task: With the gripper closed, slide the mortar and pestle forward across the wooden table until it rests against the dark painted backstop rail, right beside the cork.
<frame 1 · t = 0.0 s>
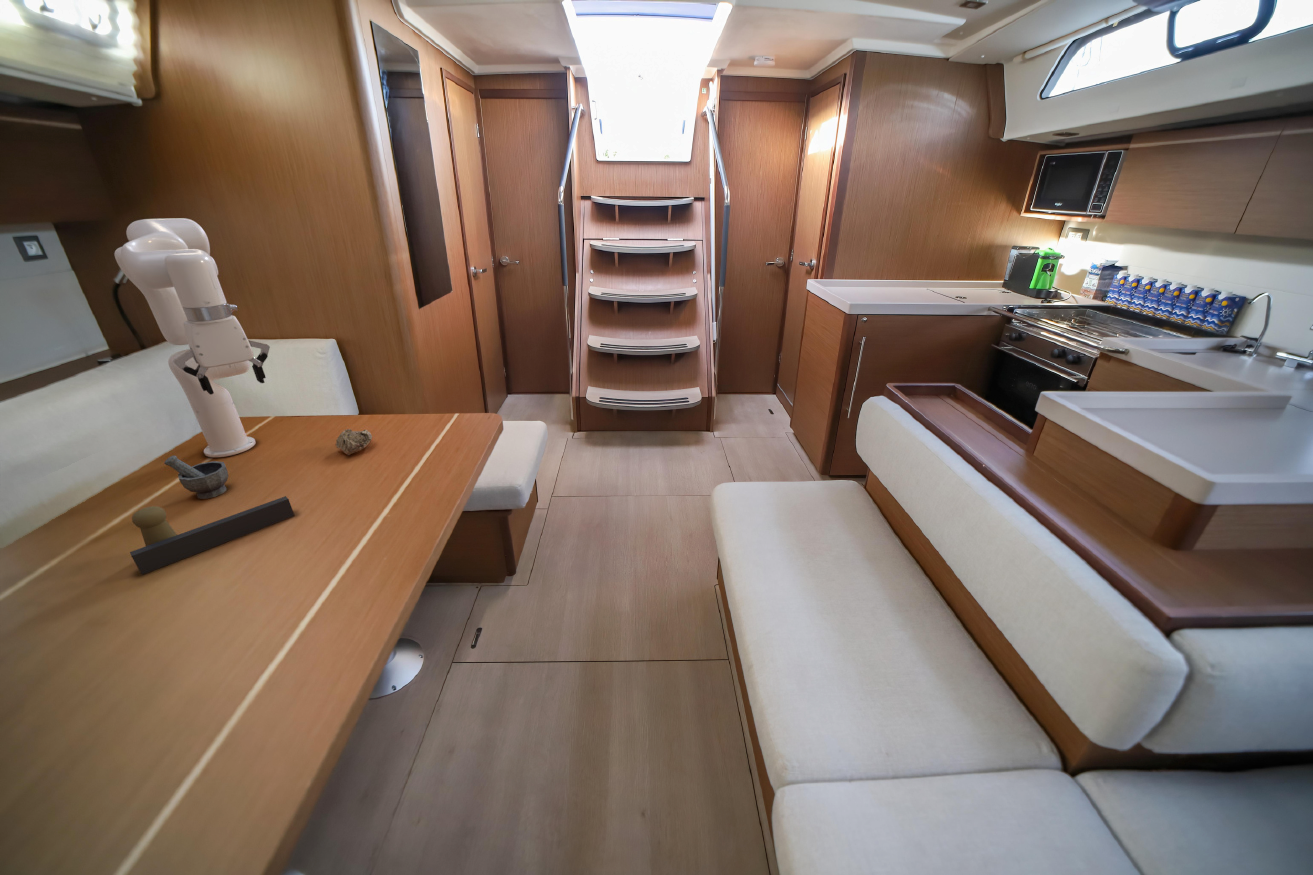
hand: (236, 387, 116), 31 cm above the table, tool pointing down, fingers open, 9 cm apart
backstop rail: (223, 541, 115), on the table
rough grey rock: (356, 449, 156), on the table
mortar and pestle: (209, 493, 133), on the table
cork: (167, 552, 111), on the table
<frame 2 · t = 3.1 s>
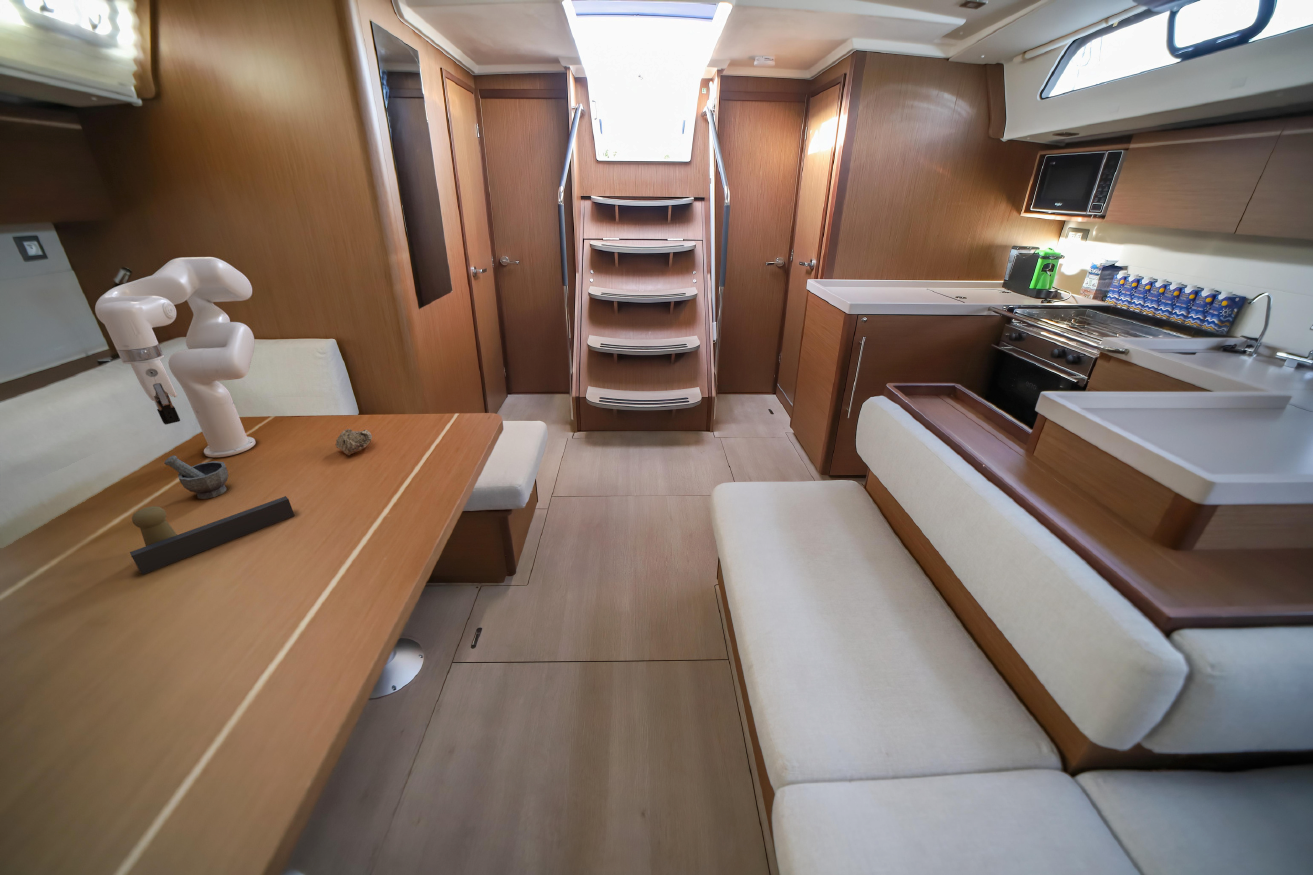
hand: (172, 422, 130), 18 cm above the table, tool pointing down, fingers closed
nothing on the table moved.
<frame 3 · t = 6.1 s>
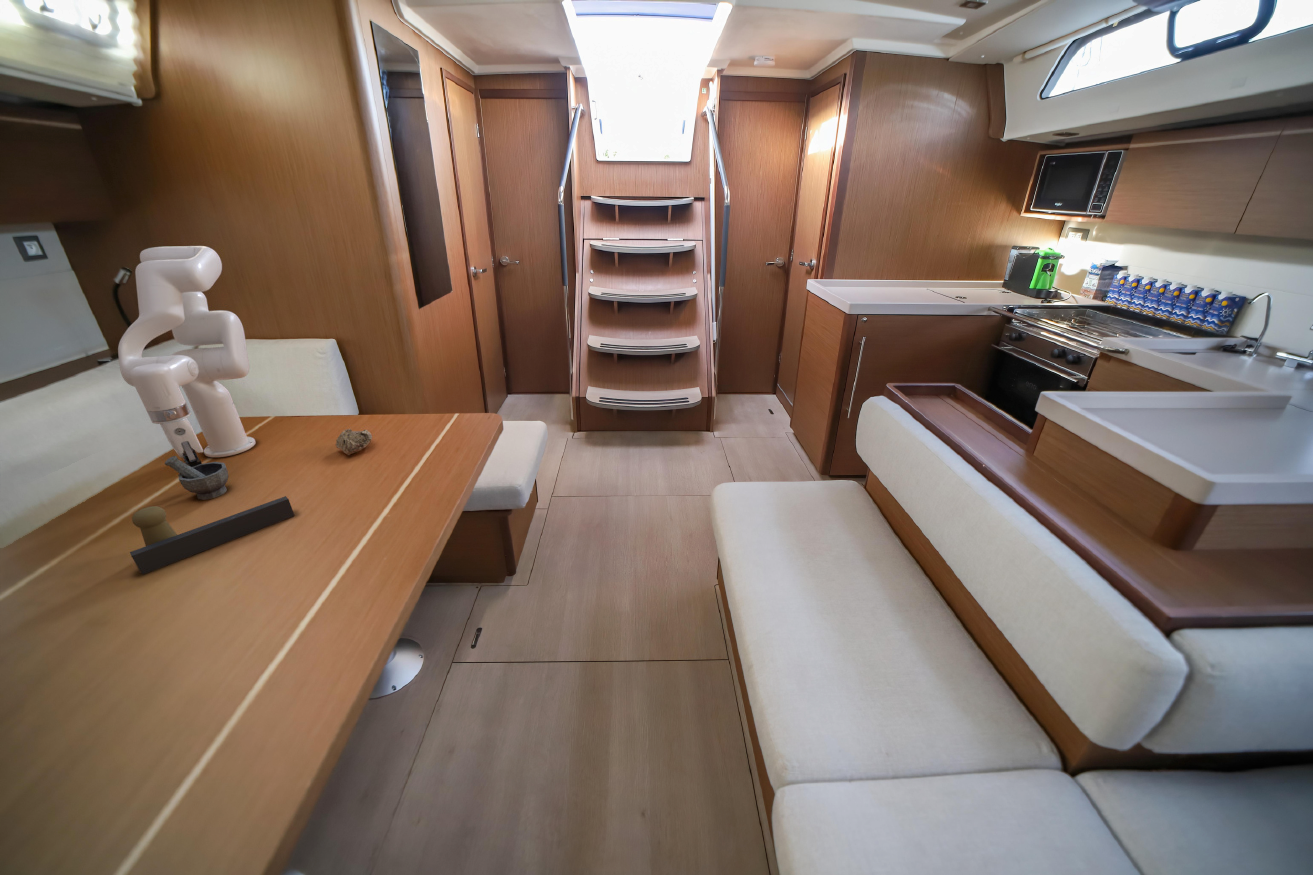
hand: (198, 474, 135), 3 cm above the table, tool pointing down, fingers closed
mortar and pestle: (209, 494, 132), on the table, touching gripper
everything else where it was.
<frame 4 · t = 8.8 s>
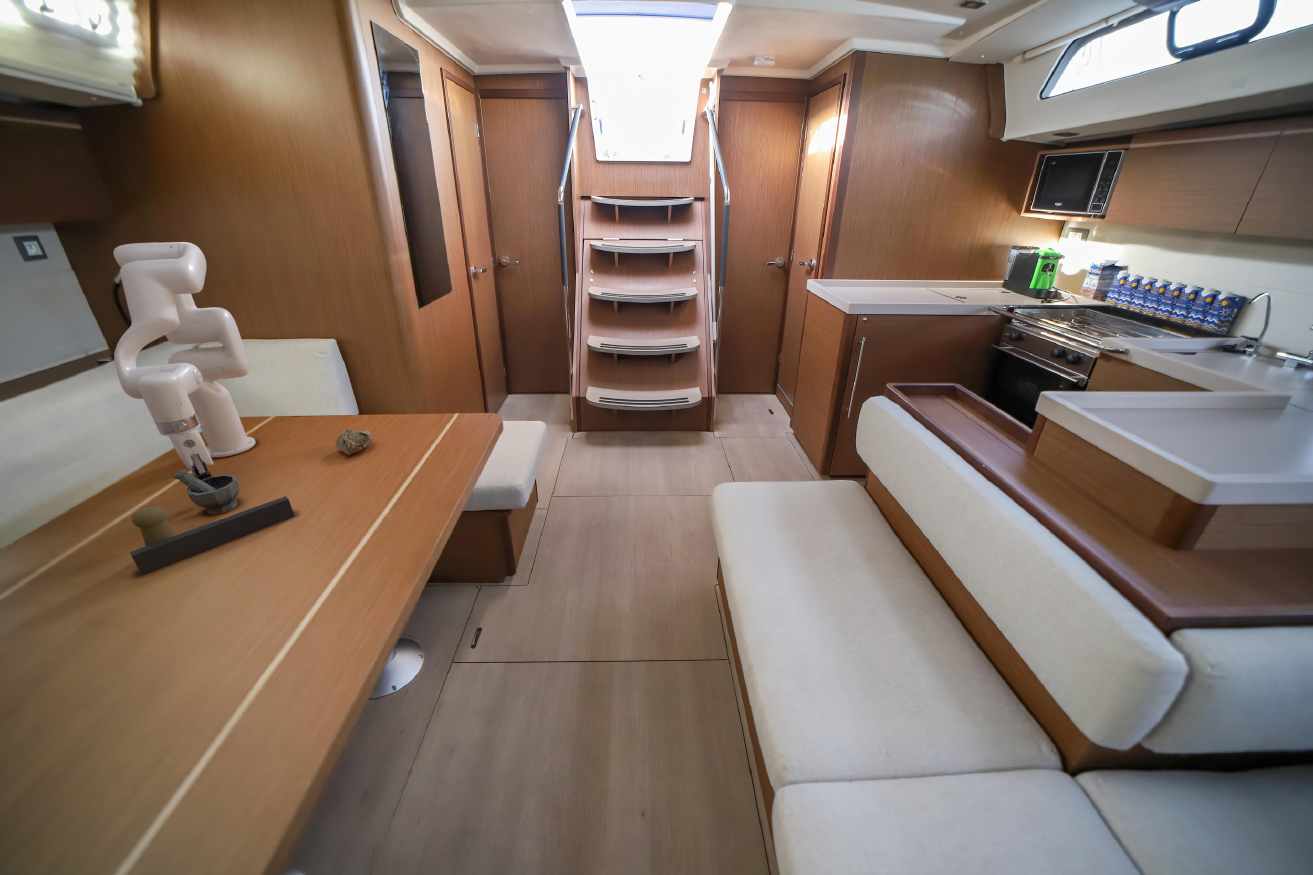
hand: (207, 487, 129), 3 cm above the table, tool pointing down, fingers closed
mortar and pestle: (219, 508, 127), on the table, touching gripper
everything else where it was.
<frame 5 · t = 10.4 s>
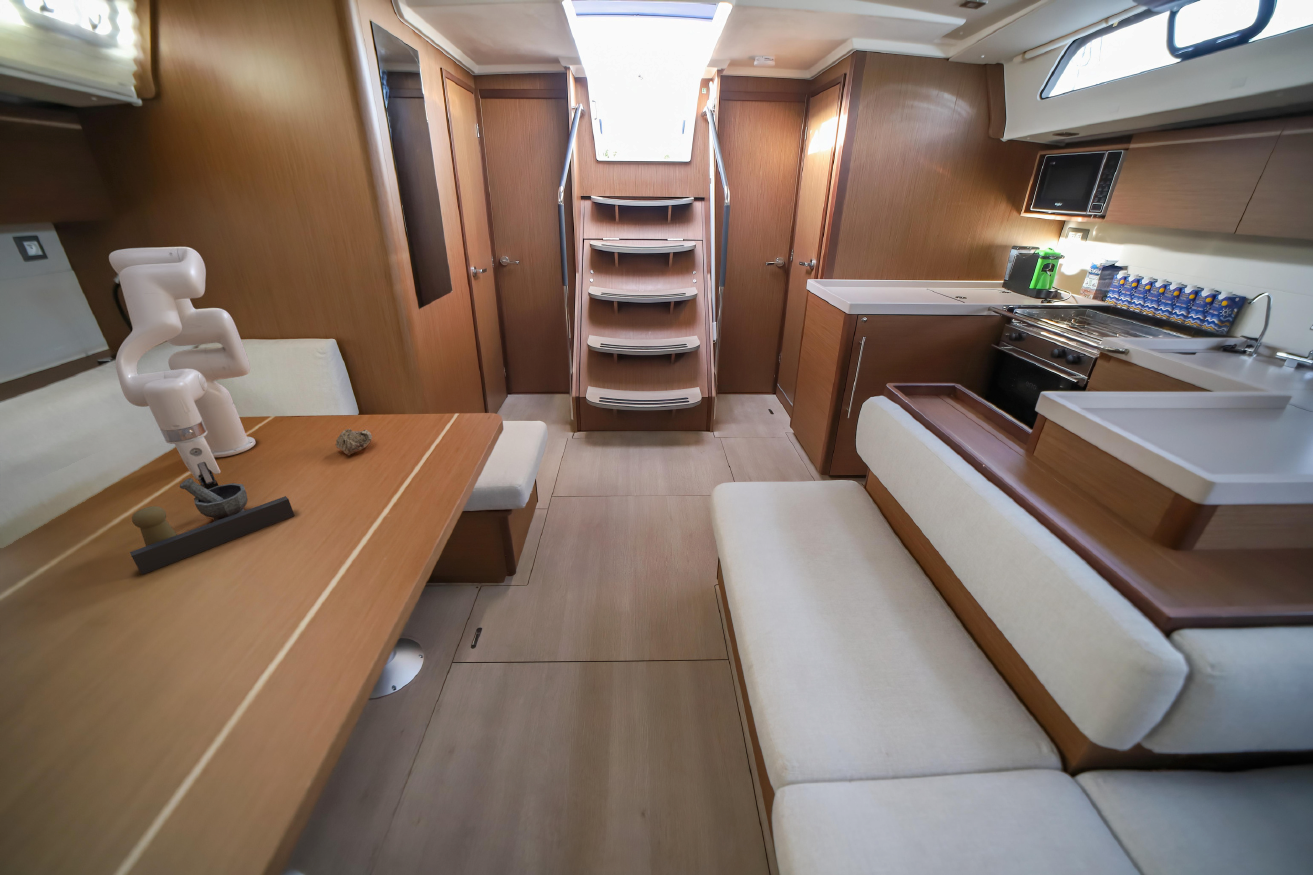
hand: (214, 496, 125), 3 cm above the table, tool pointing down, fingers closed
mortar and pestle: (227, 518, 123), on the table, touching gripper
everything else where it was.
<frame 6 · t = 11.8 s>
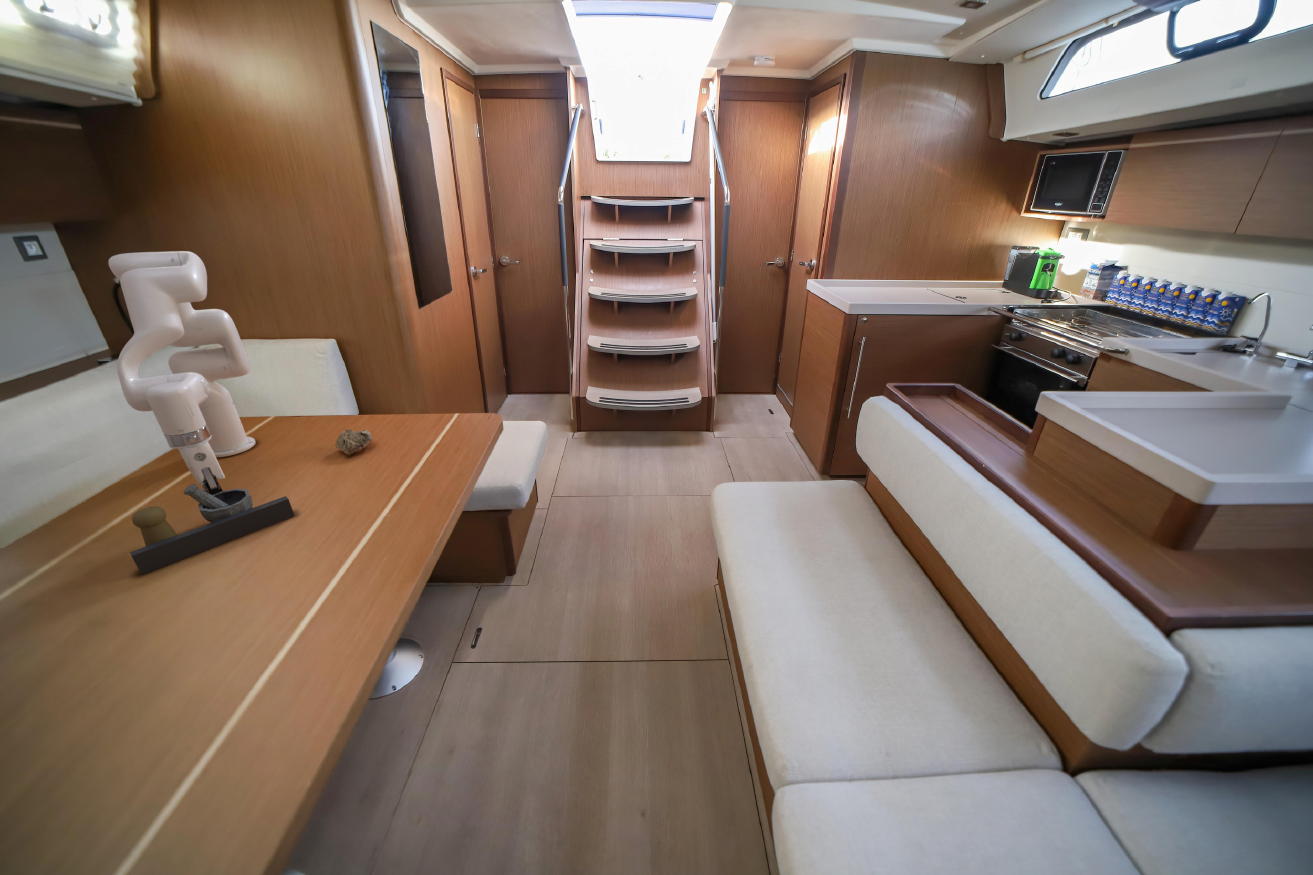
hand: (218, 502, 123), 3 cm above the table, tool pointing down, fingers closed
mortar and pestle: (231, 524, 120), on the table, touching gripper
everything else where it was.
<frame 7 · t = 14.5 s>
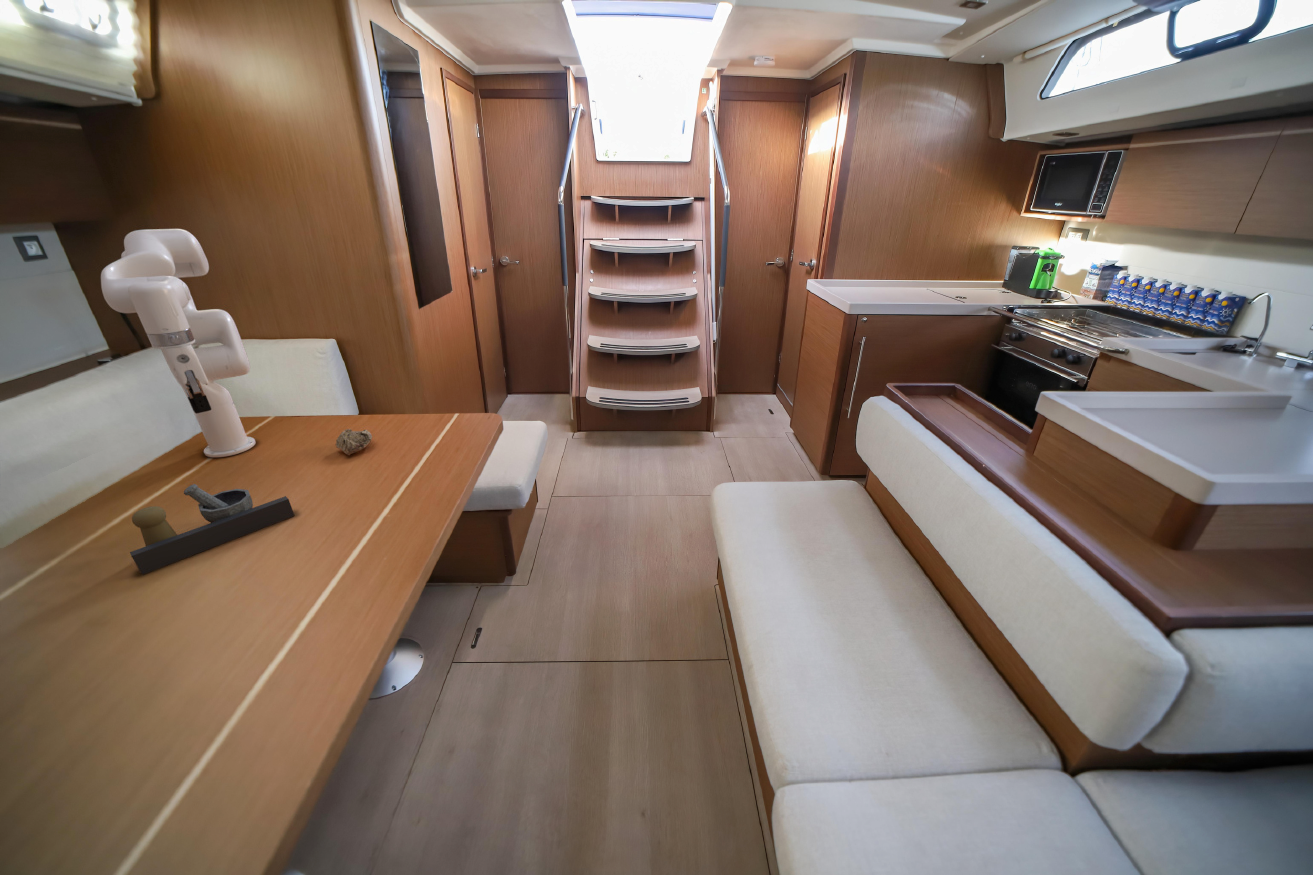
hand: (202, 410, 123), 24 cm above the table, tool pointing down, fingers closed
mortar and pestle: (231, 525, 120), on the table
everything else where it was.
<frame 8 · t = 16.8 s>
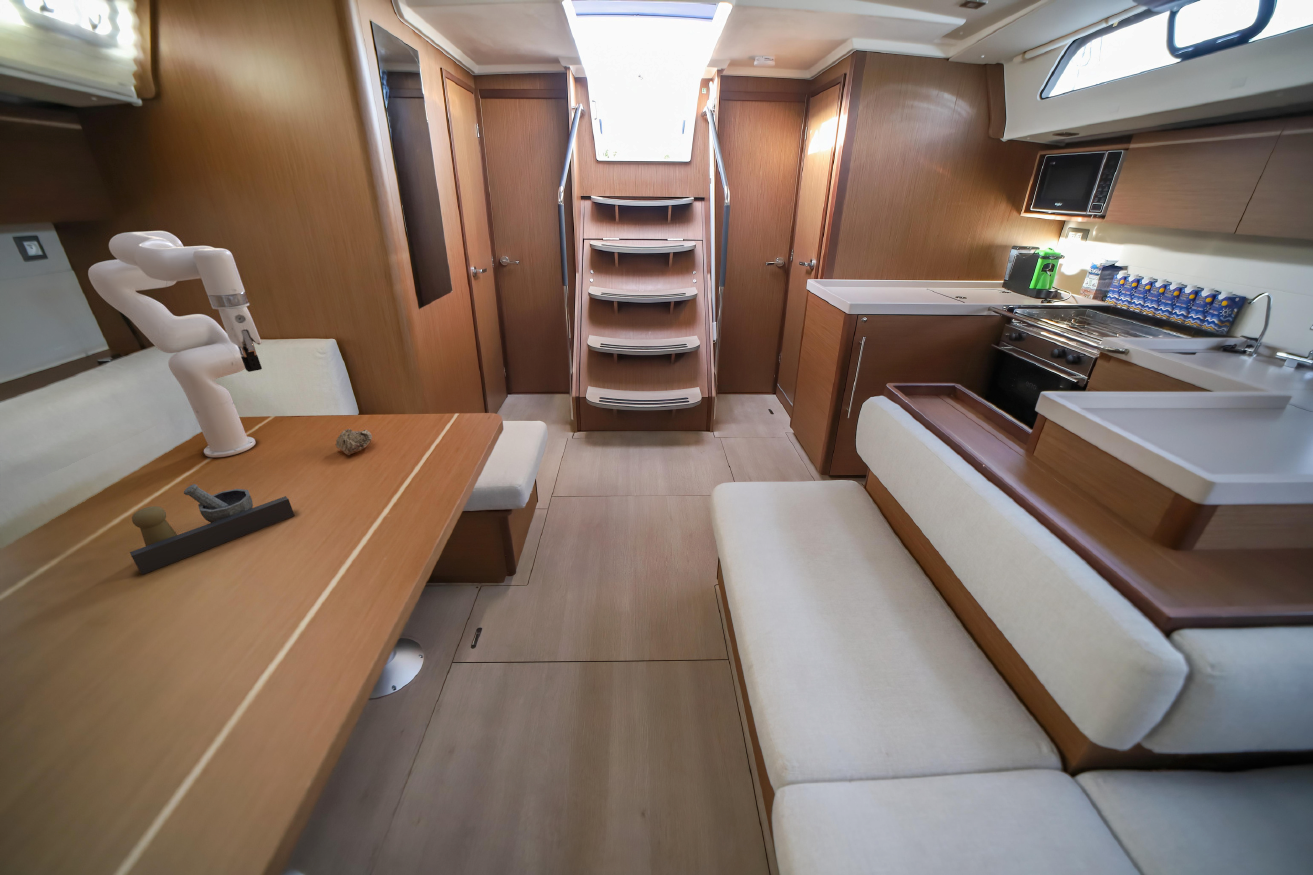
hand: (254, 369, 134), 29 cm above the table, tool pointing down, fingers closed
nothing on the table moved.
at the end: mortar and pestle inside the target area (1.0 cm from its centre), on the table; mortar and pestle 12.0 cm from the cork (horizontally); cork moved 0.2 cm from its start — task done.
